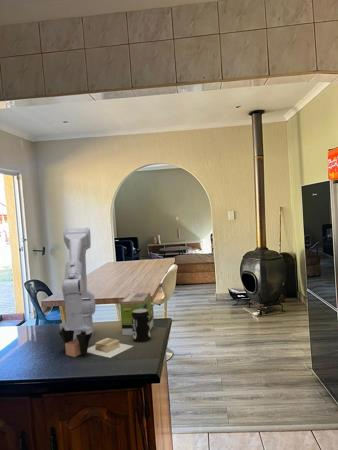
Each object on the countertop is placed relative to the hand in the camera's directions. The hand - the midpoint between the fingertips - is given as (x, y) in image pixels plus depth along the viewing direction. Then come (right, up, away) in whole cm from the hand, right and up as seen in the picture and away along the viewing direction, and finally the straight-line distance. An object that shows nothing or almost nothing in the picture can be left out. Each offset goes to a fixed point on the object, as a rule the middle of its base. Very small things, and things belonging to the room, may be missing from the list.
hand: (76, 351), depth 128 cm
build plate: (+10, -1, +3) cm, 11 cm away
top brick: (0, -2, -1) cm, 2 cm away
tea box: (+20, 0, +23) cm, 30 cm away
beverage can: (+22, 0, +10) cm, 24 cm away
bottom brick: (+10, 0, +2) cm, 11 cm away
